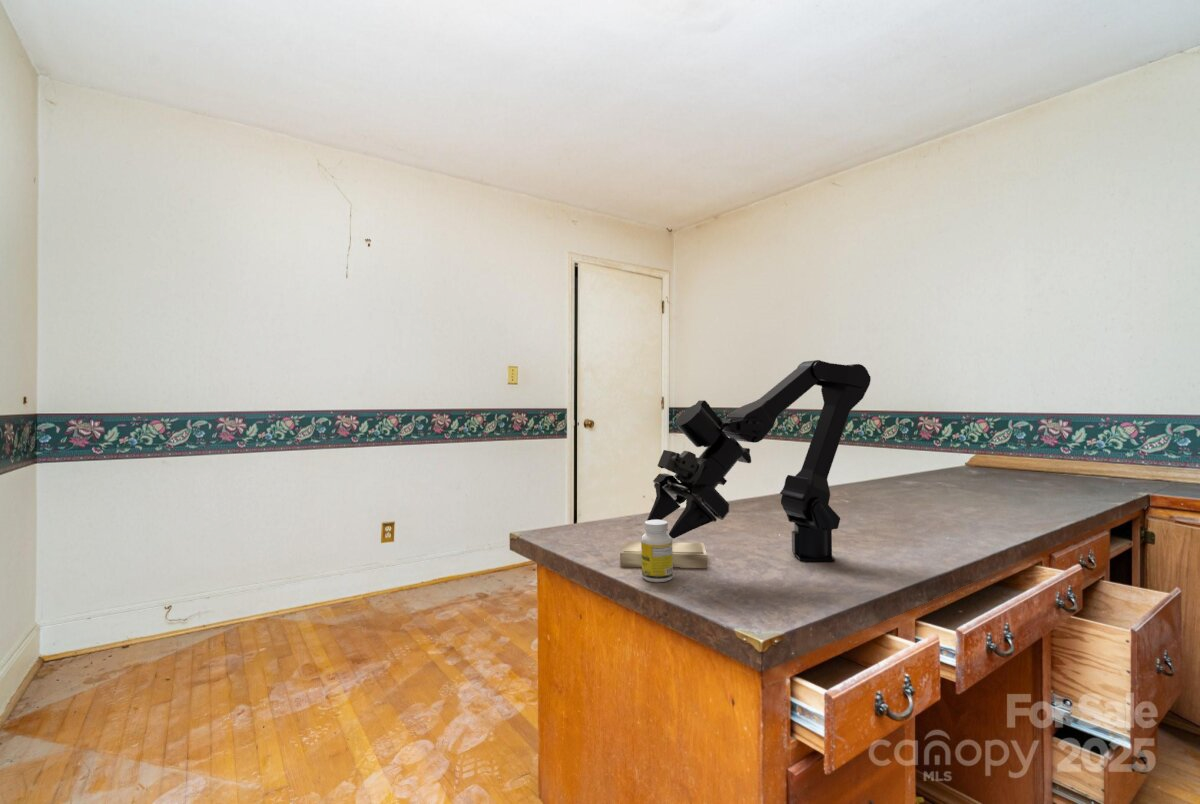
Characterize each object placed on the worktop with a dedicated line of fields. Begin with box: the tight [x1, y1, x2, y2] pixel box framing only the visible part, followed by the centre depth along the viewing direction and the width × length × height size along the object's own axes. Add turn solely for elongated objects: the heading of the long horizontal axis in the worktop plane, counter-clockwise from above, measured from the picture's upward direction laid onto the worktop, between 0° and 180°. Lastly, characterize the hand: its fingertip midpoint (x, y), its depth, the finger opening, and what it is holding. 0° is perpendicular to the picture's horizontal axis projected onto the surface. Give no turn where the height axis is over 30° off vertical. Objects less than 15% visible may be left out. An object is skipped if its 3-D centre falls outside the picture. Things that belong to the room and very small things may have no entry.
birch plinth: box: [619, 541, 708, 569], centre depth 104 cm, size 16×8×3 cm, turn 83°
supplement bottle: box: [640, 519, 674, 583], centre depth 94 cm, size 5×5×10 cm
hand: (658, 530), depth 95 cm, fingers open, 9 cm apart
